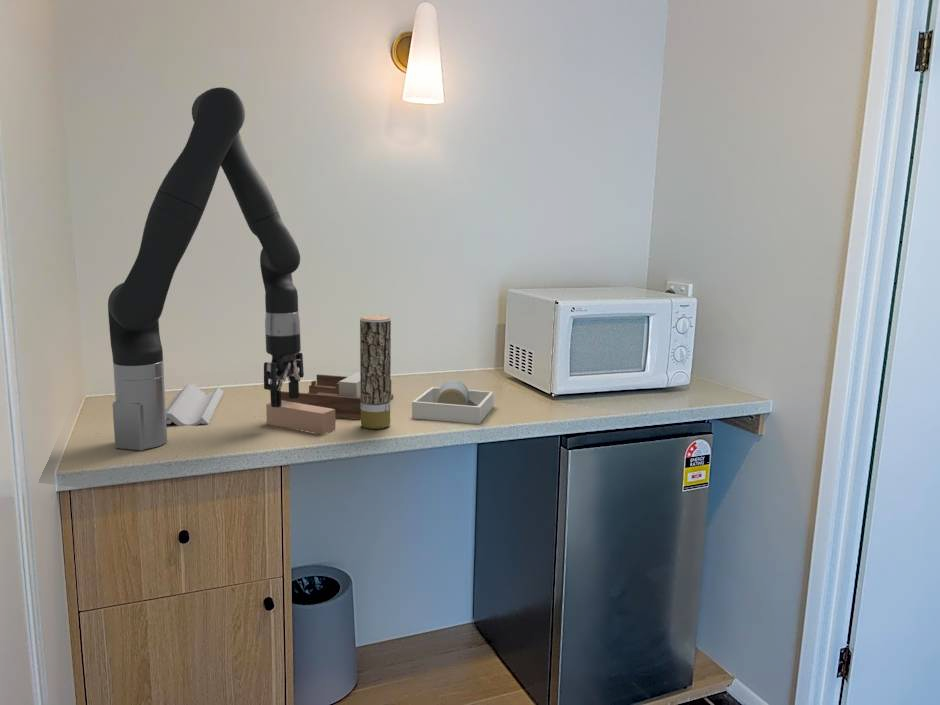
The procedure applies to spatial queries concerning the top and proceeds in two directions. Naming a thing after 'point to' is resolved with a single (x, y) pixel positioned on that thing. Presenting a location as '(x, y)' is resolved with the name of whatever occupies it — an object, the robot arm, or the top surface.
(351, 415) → the rack
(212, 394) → the crown molding
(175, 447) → the top surface
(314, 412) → the clay bar
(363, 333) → the bark log cylinder
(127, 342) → the robot arm
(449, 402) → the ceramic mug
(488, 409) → the frame
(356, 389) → the grey bar
